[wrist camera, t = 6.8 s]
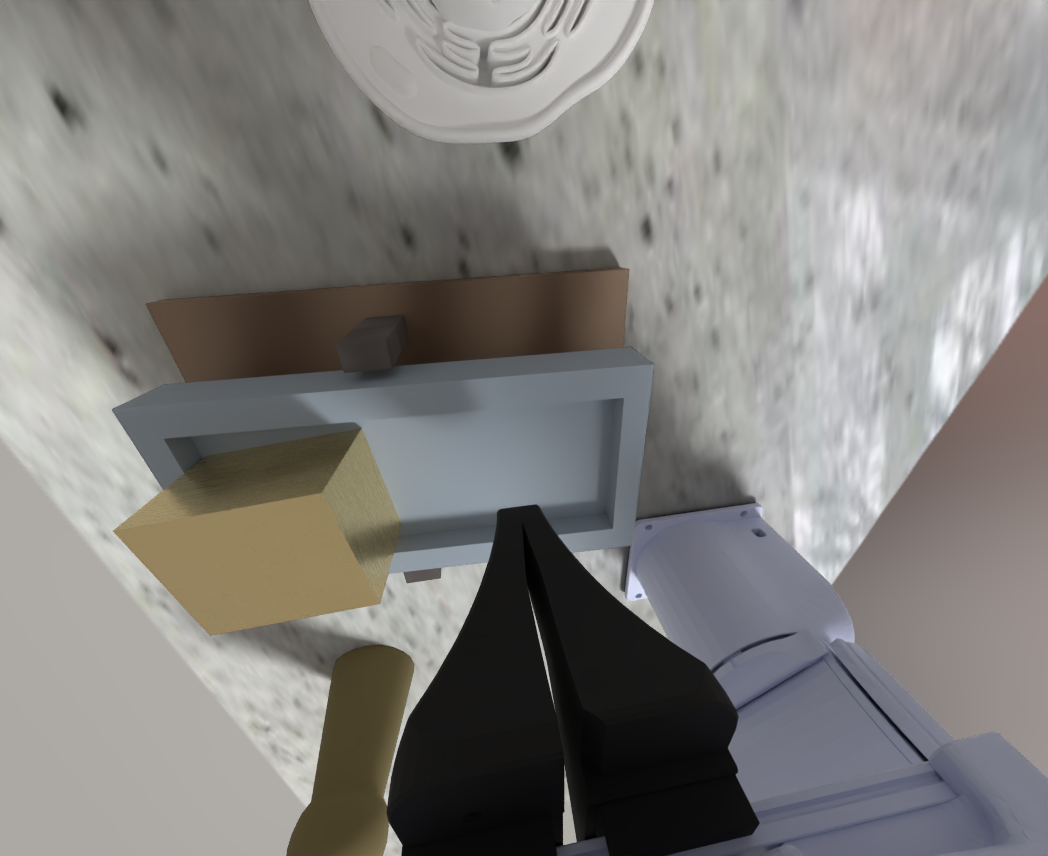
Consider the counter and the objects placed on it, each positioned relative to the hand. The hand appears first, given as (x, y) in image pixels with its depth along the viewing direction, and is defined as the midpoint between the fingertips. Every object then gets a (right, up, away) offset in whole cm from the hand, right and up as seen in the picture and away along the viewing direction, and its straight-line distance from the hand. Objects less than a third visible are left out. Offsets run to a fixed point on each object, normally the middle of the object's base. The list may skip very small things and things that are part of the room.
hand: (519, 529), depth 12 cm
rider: (-9, +1, +3) cm, 9 cm away
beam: (-4, +2, +4) cm, 6 cm away
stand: (-6, +4, +7) cm, 10 cm away
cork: (-12, -16, +17) cm, 26 cm away
